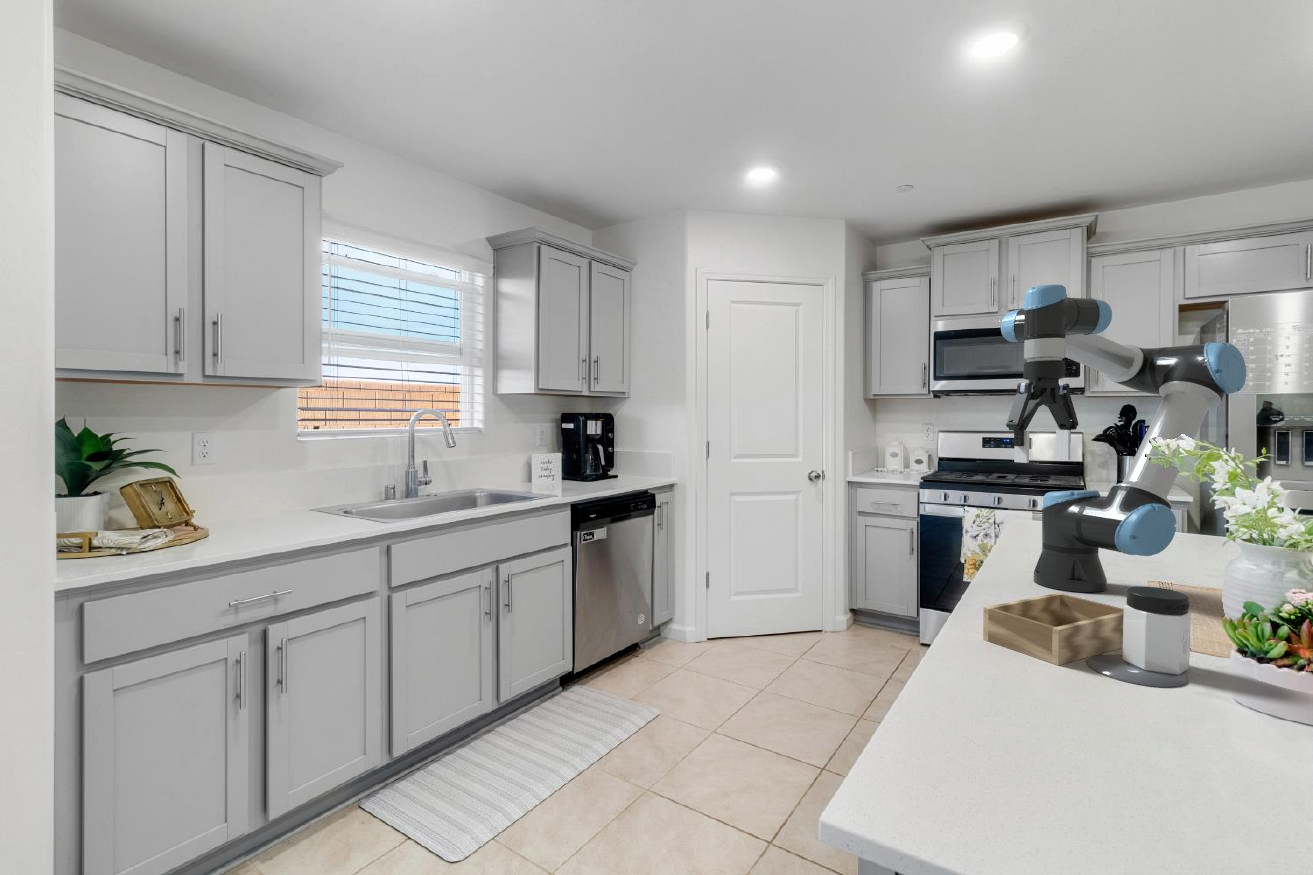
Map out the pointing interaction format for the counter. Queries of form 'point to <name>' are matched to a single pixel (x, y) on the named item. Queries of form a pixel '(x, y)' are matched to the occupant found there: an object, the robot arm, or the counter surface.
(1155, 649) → the jar
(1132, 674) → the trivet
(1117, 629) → the frame
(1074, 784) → the counter surface
